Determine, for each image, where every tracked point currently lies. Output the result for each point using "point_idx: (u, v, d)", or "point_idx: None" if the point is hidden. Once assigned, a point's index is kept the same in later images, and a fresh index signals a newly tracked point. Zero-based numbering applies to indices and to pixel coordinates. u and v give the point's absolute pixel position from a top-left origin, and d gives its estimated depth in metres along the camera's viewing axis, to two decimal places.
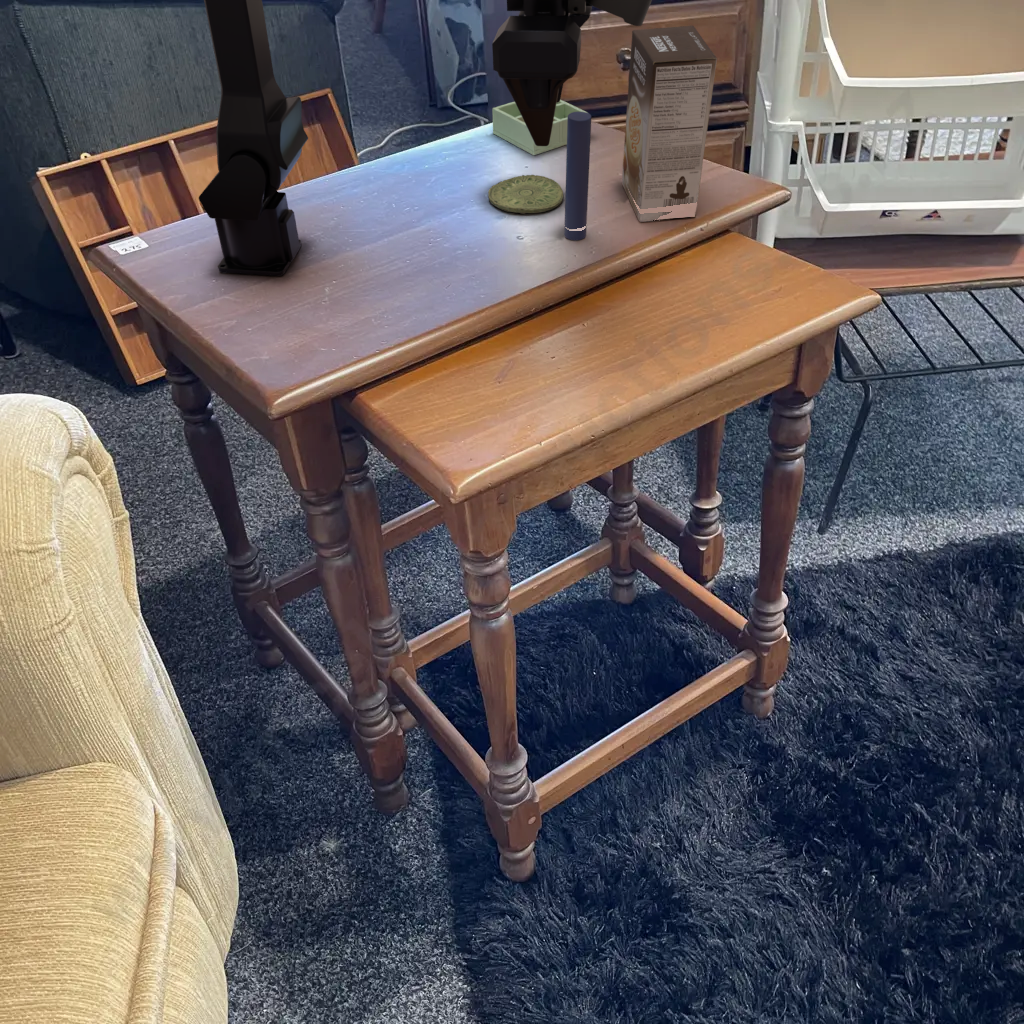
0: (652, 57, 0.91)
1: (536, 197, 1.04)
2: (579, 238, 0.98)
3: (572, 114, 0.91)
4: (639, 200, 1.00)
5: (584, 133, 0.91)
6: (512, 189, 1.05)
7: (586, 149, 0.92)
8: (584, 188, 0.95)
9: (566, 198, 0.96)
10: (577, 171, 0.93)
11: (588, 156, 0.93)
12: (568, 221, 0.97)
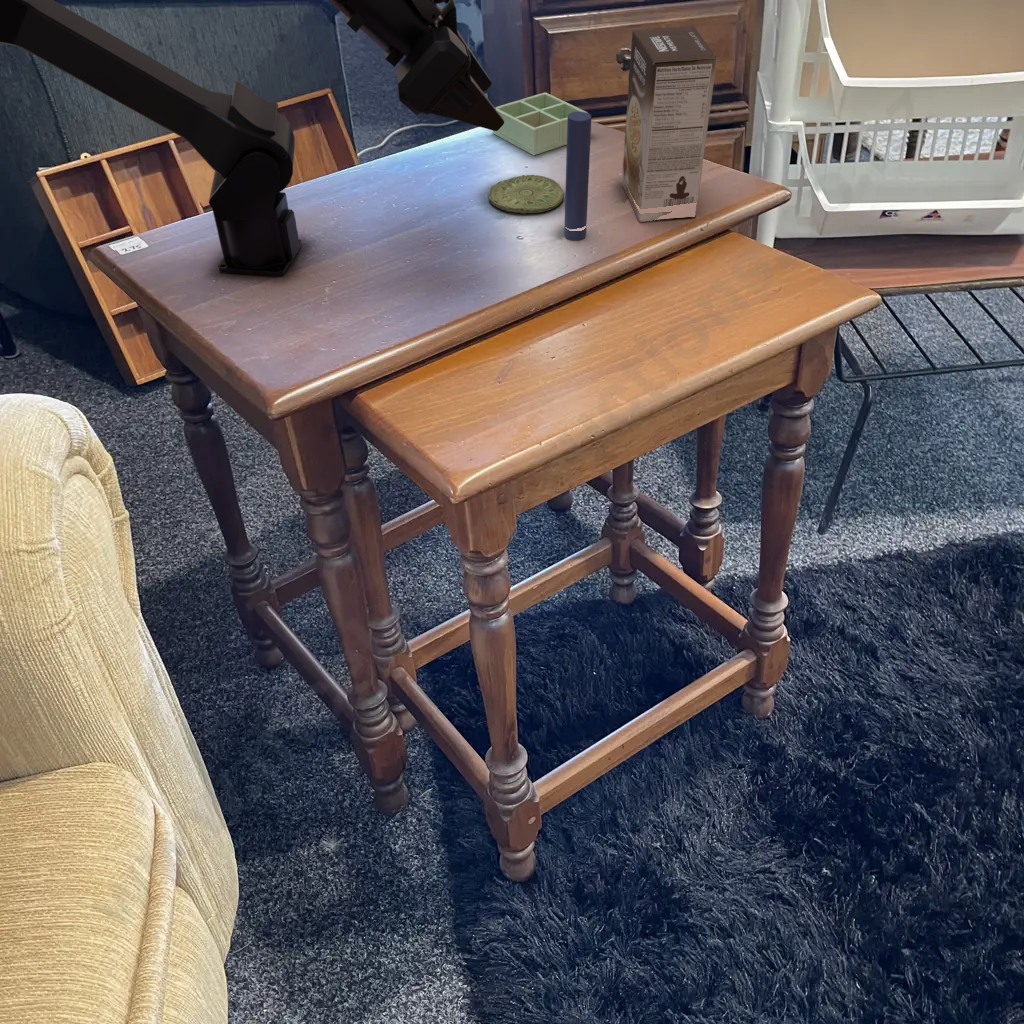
0: (652, 57, 0.91)
1: (536, 197, 1.04)
2: (579, 238, 0.98)
3: (572, 114, 0.91)
4: (639, 200, 1.00)
5: (584, 133, 0.91)
6: (512, 189, 1.05)
7: (586, 149, 0.92)
8: (584, 188, 0.95)
9: (566, 198, 0.96)
10: (577, 171, 0.93)
11: (588, 156, 0.93)
12: (568, 221, 0.97)
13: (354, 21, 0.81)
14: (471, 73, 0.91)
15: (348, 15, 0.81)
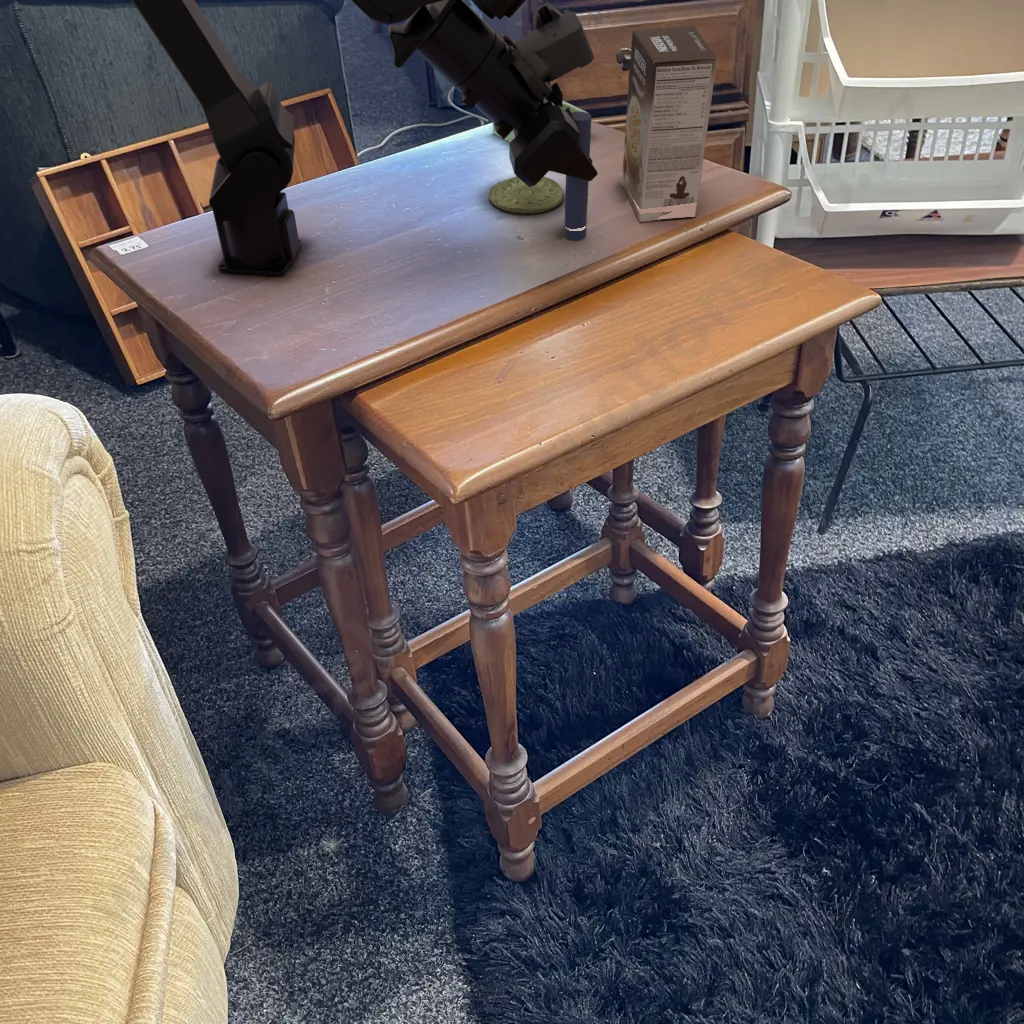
0: (652, 57, 0.91)
1: (536, 197, 1.04)
2: (579, 238, 0.98)
3: (572, 114, 0.91)
4: (639, 200, 1.00)
5: (584, 133, 0.91)
6: (512, 189, 1.05)
7: (586, 149, 0.92)
8: (584, 188, 0.95)
9: (566, 198, 0.96)
10: None
11: (588, 156, 0.93)
12: (568, 221, 0.97)
13: (470, 99, 0.86)
14: None
15: (463, 93, 0.87)
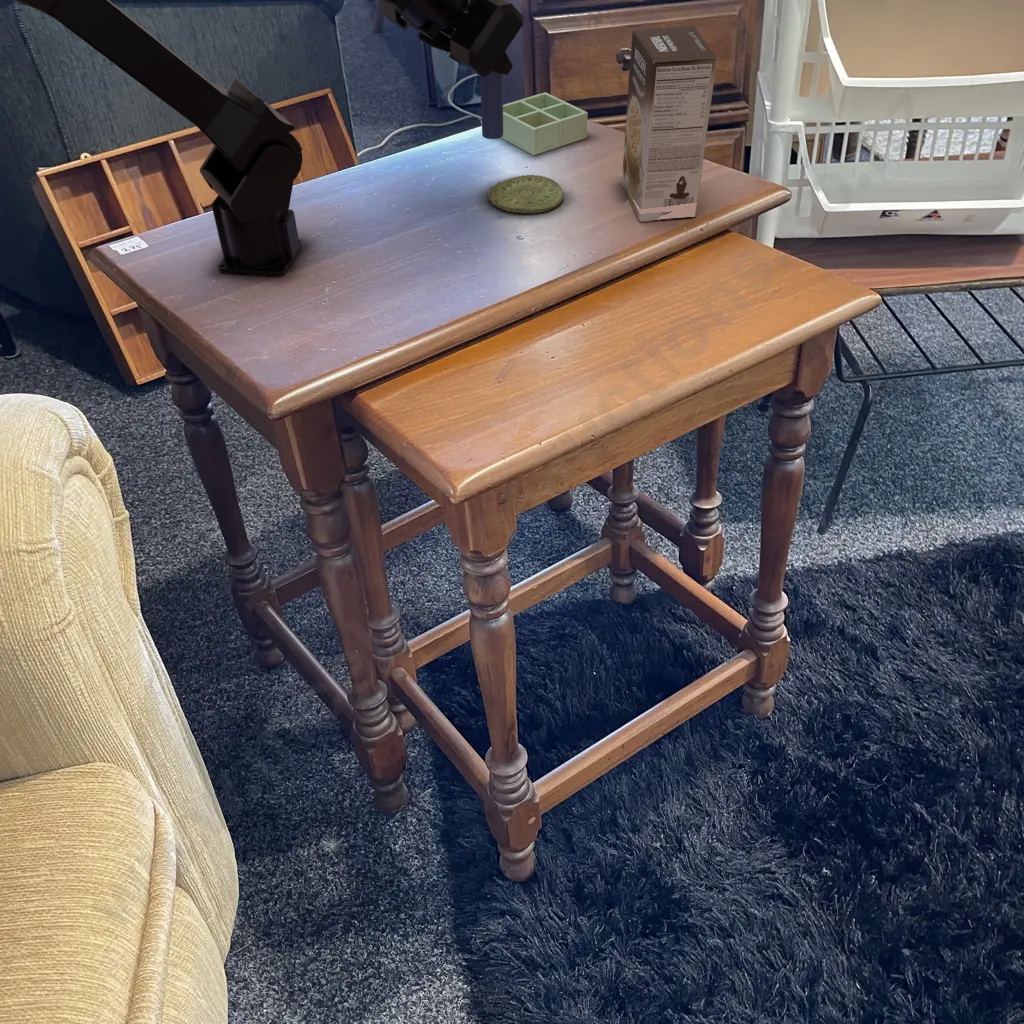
0: (652, 57, 0.91)
1: (536, 197, 1.04)
2: (500, 136, 1.01)
3: None
4: (639, 200, 1.00)
5: None
6: (512, 189, 1.05)
7: None
8: (500, 83, 0.98)
9: (484, 97, 0.99)
10: None
11: None
12: (488, 120, 1.00)
13: (401, 1, 0.86)
14: None
15: None
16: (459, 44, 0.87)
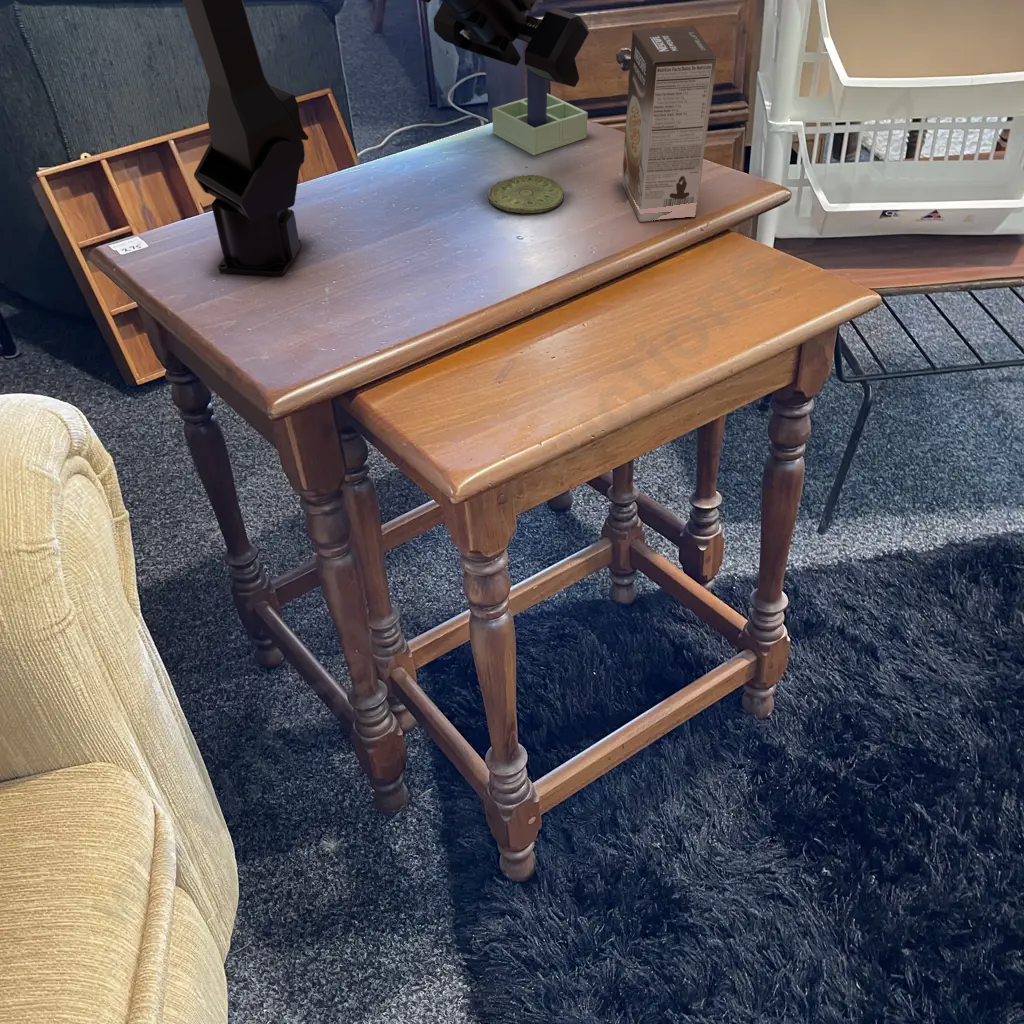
0: (652, 57, 0.91)
1: (536, 197, 1.04)
2: None
3: None
4: (639, 200, 1.00)
5: None
6: (512, 189, 1.05)
7: None
8: (546, 92, 1.11)
9: (532, 106, 1.11)
10: None
11: None
12: (535, 126, 1.12)
13: (481, 20, 0.97)
14: (508, 52, 1.11)
15: (471, 17, 0.98)
16: (535, 54, 0.99)
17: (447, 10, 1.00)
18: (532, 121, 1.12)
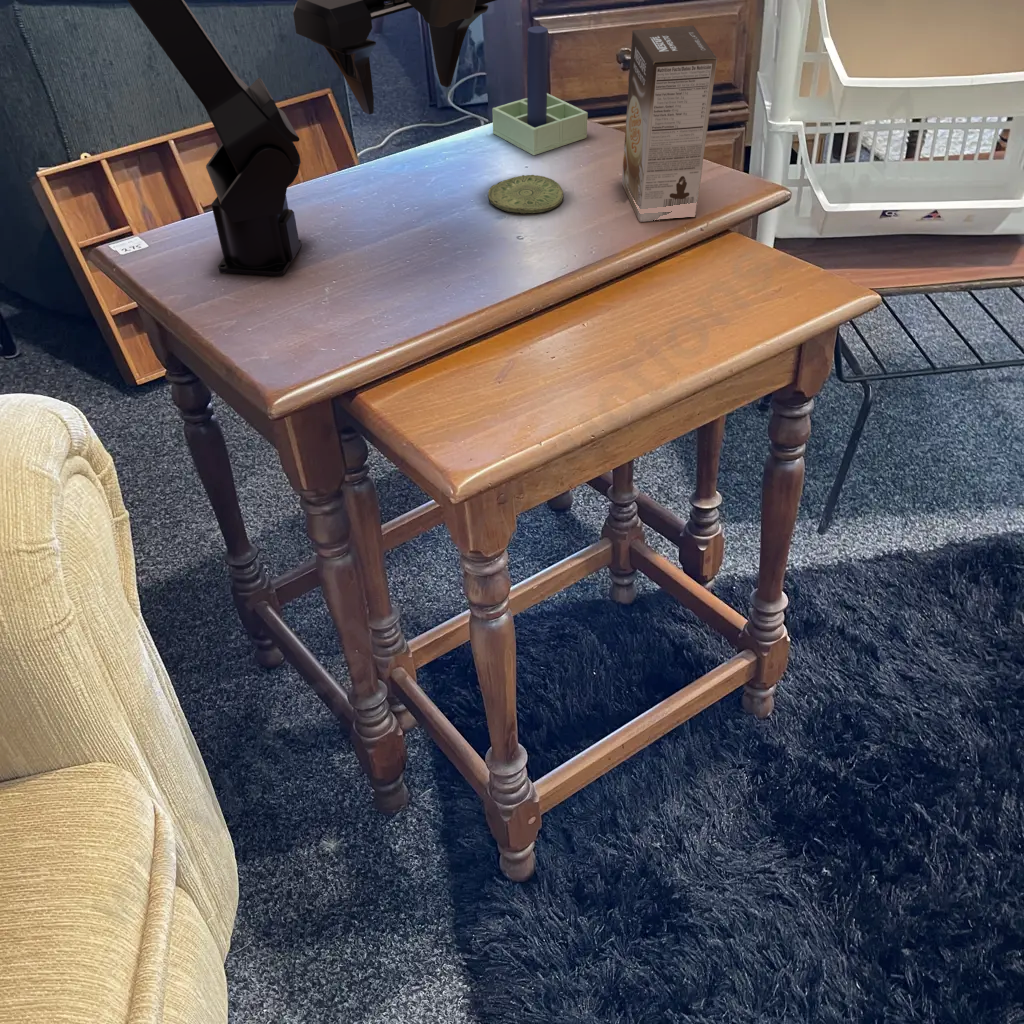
0: (652, 57, 0.91)
1: (536, 197, 1.04)
2: None
3: (530, 29, 1.06)
4: (639, 200, 1.00)
5: (546, 42, 1.07)
6: (512, 189, 1.05)
7: None
8: (546, 92, 1.11)
9: (532, 106, 1.11)
10: (542, 77, 1.09)
11: None
12: (535, 126, 1.12)
13: None
14: (442, 63, 0.92)
15: None
16: None
17: None
18: (532, 121, 1.12)
